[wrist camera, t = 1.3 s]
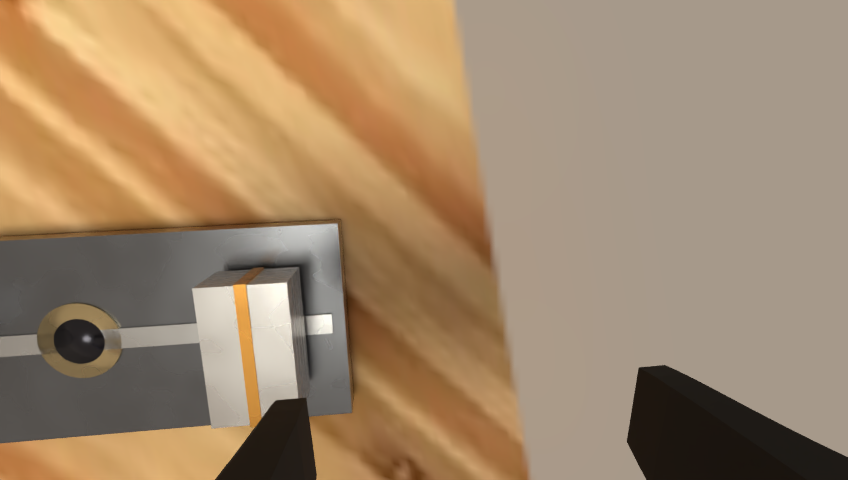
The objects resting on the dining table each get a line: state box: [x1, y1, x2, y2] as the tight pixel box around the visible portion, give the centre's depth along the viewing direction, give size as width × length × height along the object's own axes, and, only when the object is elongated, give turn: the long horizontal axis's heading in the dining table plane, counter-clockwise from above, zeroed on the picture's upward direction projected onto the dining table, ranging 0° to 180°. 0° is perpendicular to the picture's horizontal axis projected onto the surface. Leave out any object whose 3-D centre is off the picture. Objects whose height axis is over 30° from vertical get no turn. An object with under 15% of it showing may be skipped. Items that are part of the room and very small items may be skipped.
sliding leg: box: [192, 267, 310, 428], centre depth 16 cm, size 5×3×2 cm, turn 2°
